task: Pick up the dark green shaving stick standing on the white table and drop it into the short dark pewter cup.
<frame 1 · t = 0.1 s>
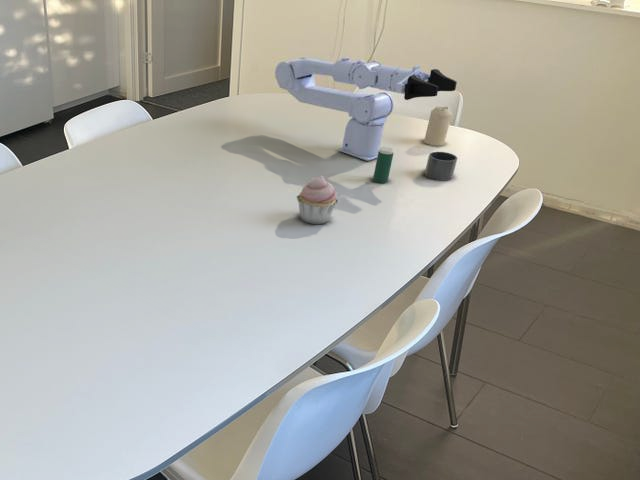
hand: (446, 88, 174), 22 cm above the table, tool horizontal, fingers open, 7 cm apart
candle: (433, 143, 207), on the table
shaving stick: (380, 180, 183), on the table
cupcake: (314, 219, 164), on the table
cup: (438, 175, 187), on the table
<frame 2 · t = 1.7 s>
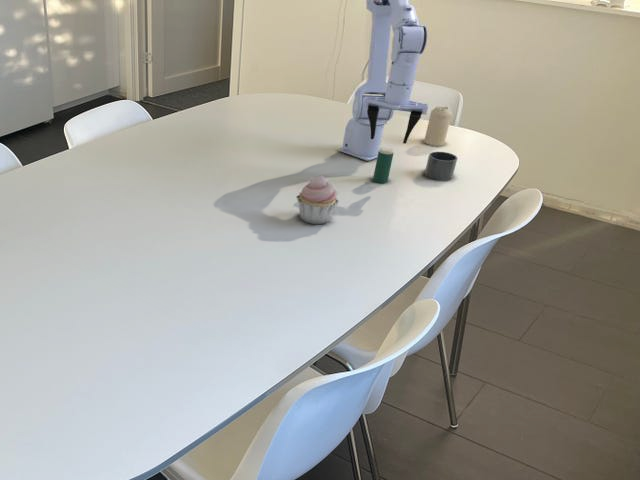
hand: (388, 140, 177), 10 cm above the table, tool pointing down, fingers open, 7 cm apart
nothing on the table moved.
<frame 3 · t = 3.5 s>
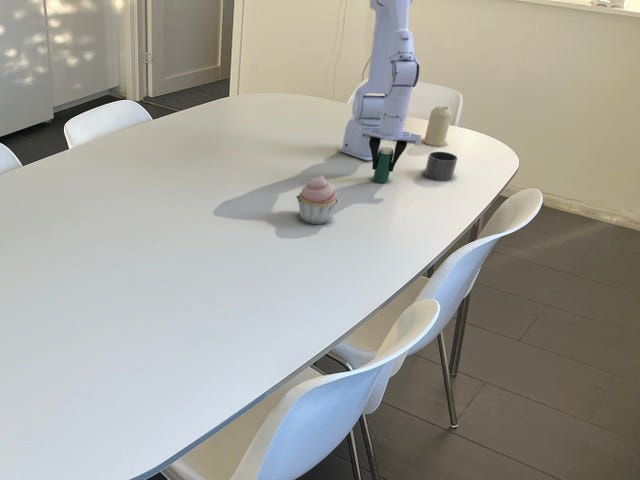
hand: (382, 169, 182), 3 cm above the table, tool pointing down, fingers closed on shaving stick, 3 cm apart
shaving stick: (380, 180, 183), on the table, touching gripper
everything else where it was.
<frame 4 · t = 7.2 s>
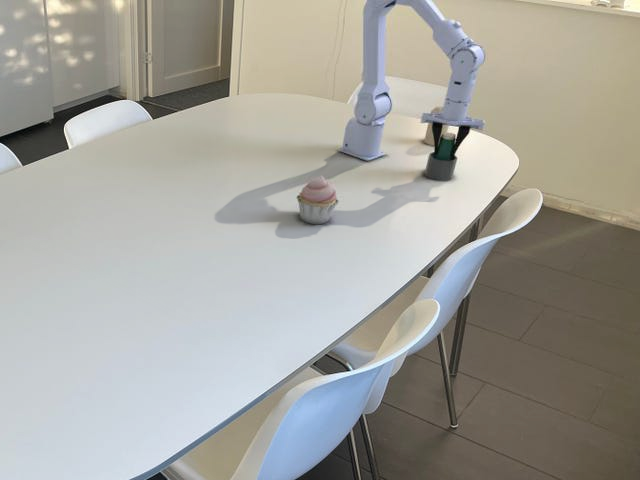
hand: (443, 154, 184), 5 cm above the table, tool pointing down, fingers closed on shaving stick, 3 cm apart
shaving stick: (441, 165, 185), point 3 cm above the table, touching gripper
everything else where it was.
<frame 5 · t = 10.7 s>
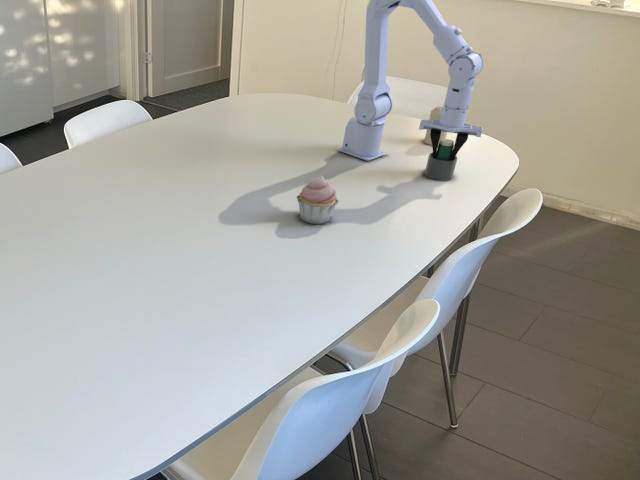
hand: (442, 160, 185), 4 cm above the table, tool pointing down, fingers closed on shaving stick, 3 cm apart
shaving stick: (439, 171, 186), point 1 cm above the table, touching gripper
everything else where it was.
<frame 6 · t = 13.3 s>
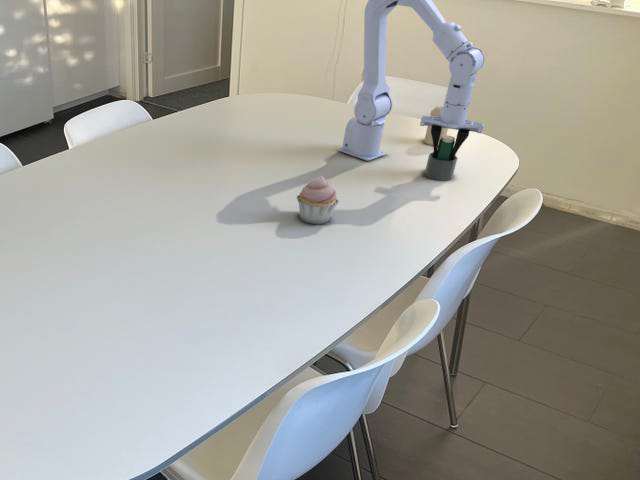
hand: (443, 157, 184), 5 cm above the table, tool pointing down, fingers closed on shaving stick, 4 cm apart
shaving stick: (440, 168, 186), point 2 cm above the table, touching gripper
everything else where it was.
when the fingers open (6 cm above the table, at t = 15.8 s): shaving stick drops 2 cm, resting on cup.
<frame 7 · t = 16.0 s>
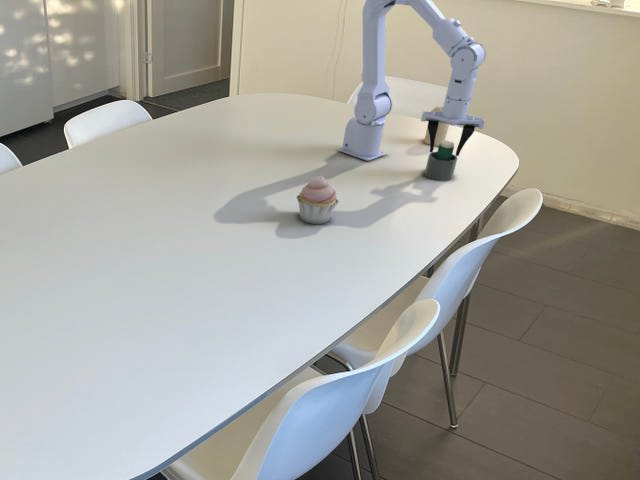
hand: (444, 152, 184), 6 cm above the table, tool pointing down, fingers open, 6 cm apart
shaving stick: (439, 173, 187), point 1 cm above the table, touching cup
everything else where it was.
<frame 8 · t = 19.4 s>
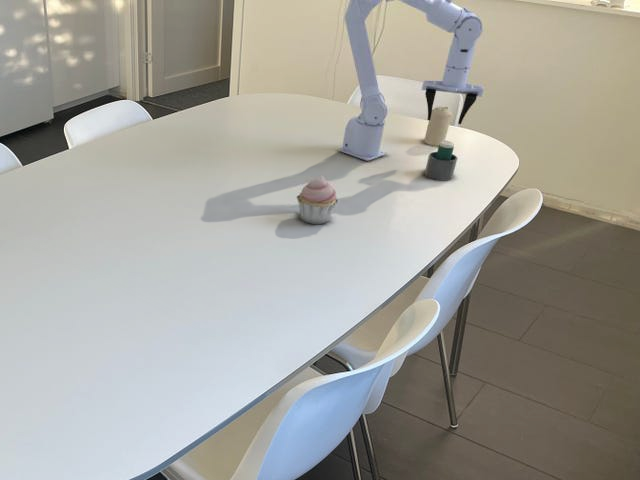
hand: (444, 121, 190), 10 cm above the table, tool pointing down, fingers open, 7 cm apart
nothing on the table moved.
at the end: shaving stick 0.1 cm off-centre in the cup, point 0.5 cm above the cup's base; shaving stick tilted 0° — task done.
